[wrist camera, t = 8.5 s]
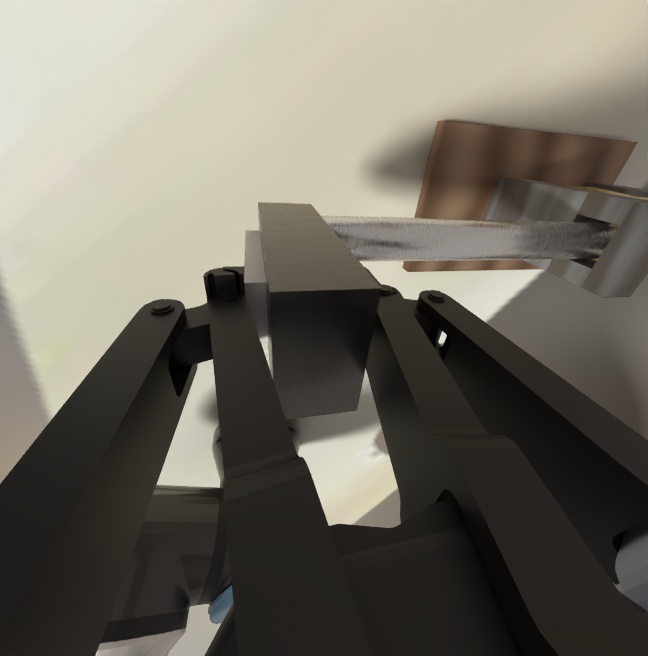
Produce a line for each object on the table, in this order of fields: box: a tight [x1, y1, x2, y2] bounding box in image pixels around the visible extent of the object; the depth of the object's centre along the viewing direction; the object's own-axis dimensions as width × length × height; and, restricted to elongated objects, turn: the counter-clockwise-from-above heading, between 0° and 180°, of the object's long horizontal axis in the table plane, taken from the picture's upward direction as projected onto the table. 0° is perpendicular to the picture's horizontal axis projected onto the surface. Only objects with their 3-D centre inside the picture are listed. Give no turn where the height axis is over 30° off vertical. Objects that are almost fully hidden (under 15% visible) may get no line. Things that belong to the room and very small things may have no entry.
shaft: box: [258, 202, 620, 420], centre depth 17 cm, size 30×5×14 cm, turn 86°
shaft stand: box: [403, 121, 648, 298], centre depth 29 cm, size 26×16×18 cm, turn 86°
